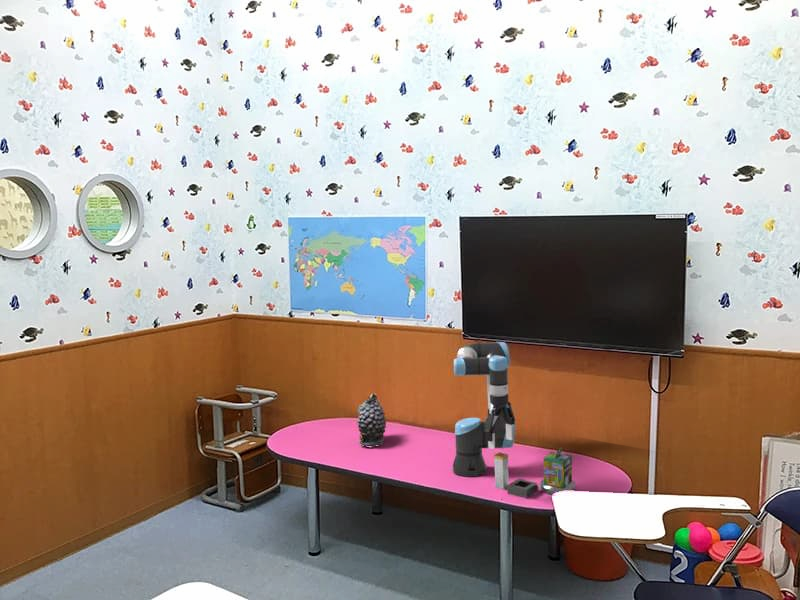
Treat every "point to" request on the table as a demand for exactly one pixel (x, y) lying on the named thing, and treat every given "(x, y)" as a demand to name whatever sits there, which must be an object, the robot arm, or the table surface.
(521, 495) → the socket
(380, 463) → the table surface
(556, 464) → the chalk box
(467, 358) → the robot arm
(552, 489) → the rosette disc
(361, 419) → the dark pine cone
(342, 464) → the table surface
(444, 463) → the table surface
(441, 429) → the table surface
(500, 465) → the white rectangular box
